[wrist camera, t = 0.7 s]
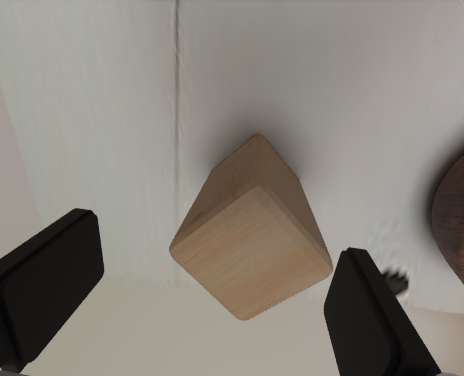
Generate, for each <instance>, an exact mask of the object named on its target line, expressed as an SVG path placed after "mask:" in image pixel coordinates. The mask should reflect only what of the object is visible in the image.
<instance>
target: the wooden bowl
mask: <svg viewBox="0 0 464 376" xmlns="http://www.w3.org/2000/svg"><path fill="white" fill-rule="evenodd" d="M431 221H432V228H433V233H434V237H435V239H436V242H437V244H438V247H439V249H440V251H441V253H442V254H443V256H444V258H445V260H446V261H447V263H448V264H449V265H450V267H451V268H452V270H453V271H454V272H455V273H456V275H457V276H458V277H459V279H460V280H461V281H462V283H463V284H464V155H463V156H462V157H461V158H460V159H459V160H458V161H457V162H456V163H455V164H454V165H453V166H452V167H451V168H450V169H449V171H448V172H447V173H446V175H445V176H444V178H443V179H442V181H441V182H440V184H439V186H438V188H437V191H436V193H435V196H434V200H433V204H432V212H431Z"/></svg>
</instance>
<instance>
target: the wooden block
mask: <svg viewBox="0 0 464 376" xmlns="http://www.w3.org/2000/svg"><path fill="white" fill-rule="evenodd" d="M169 252H170V254H171V256H172V258H173V259H174V260H175V261H176V262H177V263H178V264H179V265H180V266H182V267H183V268H184V269H185V270H186V271H187V272H188V273H189V274H190V275H191V276H192V277H193V278H194V279H195V280H196V281H197V282H199V283H200V284H201V285H202V286H203V287H204V288H205V289H206V290H207V291H208V292H209V293H210V294H211V295H212V296H213V297H215V298H216V299H217V300H218V301H219V302H220V303H221V304H222V305H223V306H224V307H225V308H226V309H227V310H228V311H229V312H231V313H232V314H233V315H234V316H235V317H236V318H237V319H240V320H249V319H251V318H253V317H255V316H257V315H258V314H260V313H262V312H264V311H266V310H268V309H270V308H271V307H273V306H275V305H277V304H279V303H281V302H283V301H285V300H286V299H288V298H290V297H292V296H294V295H296V294H298V293H299V292H301V291H303V290H305V289H307V288H309V287H311V286H312V285H314V284H316V283H318V282H320V281H322V280H324V279H325V278H327V277H328V276H329V275H330V274H331V273H332V272H333V264H332V260H331V257H330V255H329V252H328V250H327V247H326V245H325V243H324V240H323V238H322V235H321V233H320V230H319V228H318V225H317V223H316V220H315V218H314V215H313V213H312V211H311V208H310V206H309V203H308V201H307V198H306V196H305V193H304V191H303V188H302V186H301V183H300V181H299V179H298V178H297V177H296V175H295V174H294V173H293V172H292V171H291V169H290V168H289V167H288V166H287V164H286V163H285V162H284V161H283V159H282V158H281V157H280V156H279V155H278V153H277V152H276V151H275V150H274V148H273V147H272V146H271V145H270V143H269V142H268V141H267V140H266V139H265V137H263V136H261V135H260V134H258V135H255V136H253V137H252V138H251V139H250V140H248V141H247V142H246V143H245V144H243V145H242V146H241V147H240V148H239V149H237V150H236V151H235V152H234V153H233V154H231V155H230V156H229V157H228V158H227V159H225V160H224V161H223V162H222V163H221V164H219V165H218V166H217V167H216V168H214V169H213V170H212V171H211V173H210V174H209V176H208V178H207V180H206V182H205V183H204V185H203V187H202V189H201V191H200V192H199V194H198V196H197V198H196V200H195V201H194V203H193V205H192V207H191V208H190V210H189V212H188V214H187V216H186V217H185V219H184V221H183V223H182V225H181V226H180V228H179V230H178V232H177V234H176V235H175V237H174V239H173V241H172V243H171V245H170V247H169Z"/></svg>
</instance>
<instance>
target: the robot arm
mask: <svg viewBox="0 0 464 376" xmlns="http://www.w3.org/2000/svg"><path fill="white" fill-rule="evenodd" d="M103 274H104V263H103V256H102V248H101V240H100V233H99V225H98V218H97V216H96V215H94V213H93V211H91V210H86V209H79V208H75V209H73V210H71V211H70V212H69V213H67V214H66V215H64V216H63V217H61V218H60V219H58V220H57V221H55V222H54V223H52V224H51V225H49V226H48V227H46V228H45V229H44V230H42V231H41V232H39V233H38V234H36V235H35V236H33V237H32V238H30V239H29V240H27V241H26V242H24V243H23V244H22V245H20V246H18V247H17V248H16V249H14V250H13V251H11V252H10V253H8V254H7V255H5V256H4V257H2V258H1V259H0V367H1V369H2V371H1V370H0V376H28V375H23V374H19V373H20V372H21V371H22V370H23V369H24V367H25V366H26V365H27V364H28V363H30V362H32V361H34V360H35V359H36V358H37V357H38V356H39V354H40V353H41V352H42V350H43V349H44V348H45V347H46V346H47V344H48V343H49V342H50V341H51V340H52V338H53V337H54V336H55V335H56V333H57V332H58V331H59V330H60V329H61V327H62V326H63V325H64V323H65V322H66V321H67V320H68V319H69V317H70V316H71V315H72V314H73V313H74V311H75V310H76V309H77V308H78V306H79V305H80V304H81V303H82V301H83V300H84V299H85V298H86V297H87V295H88V294H89V293H90V292H91V291H92V289H93V288H94V287H95V286H96V284H97V283H98V282H99V281H100V280H101V278H102V276H103ZM324 316H325V320H326V324H327V327H328V331H329V335H330V339H331V343H332V346H333V350H334V354H335V358H336V362H337V366H338V370H339V373H340V376H458V375H456V374H453V373H442V372H441V370H440V369H439V367H438V365H437V364H436V362H435V361H434V359H433V357H432V356H431V354H430V352H429V351H428V349H427V347H426V346H425V344H424V343H423V341H422V339H421V338H420V336H419V335H418V333H417V331H416V329H415V328H414V326H413V325H412V323H411V321H410V320H409V318H408V316H407V315H406V313H405V311H404V310H403V308H402V307H401V305H400V303H399V302H398V300H397V298H396V297H395V296H394V294H393V292H392V291H391V289H390V288H389V286H388V284H387V283H386V281H385V279H384V278H383V276H382V274H381V273H380V271H379V270H378V268H377V266H376V265H375V263H374V261H373V260H372V258H371V256H370V255H369V253H368V252H367V250H364V249H357V248H351V247H349V248H348V249H347V250H346V251H342V252H341V254H340V257H339V260H338V263H337V267H336V270H335V273H334V276H333V279H332V282H331V285H330V288H329V291H328V294H327V297H326V300H325V303H324ZM6 371H7V372H6Z"/></svg>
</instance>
